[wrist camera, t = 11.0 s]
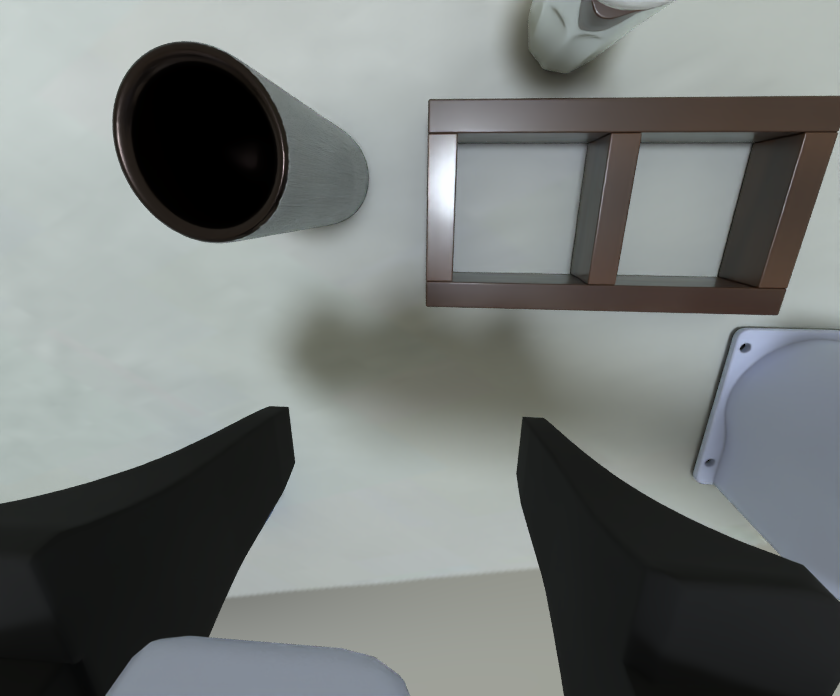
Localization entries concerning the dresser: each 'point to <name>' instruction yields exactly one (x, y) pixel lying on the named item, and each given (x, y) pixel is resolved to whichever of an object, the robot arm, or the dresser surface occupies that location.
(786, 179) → the holder
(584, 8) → the milkshake
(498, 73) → the dresser surface
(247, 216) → the grey hollow cylinder
